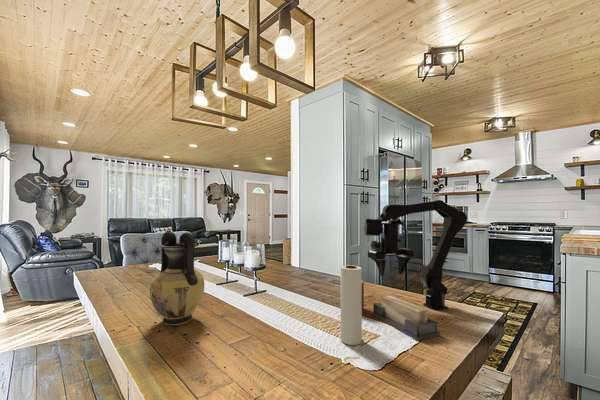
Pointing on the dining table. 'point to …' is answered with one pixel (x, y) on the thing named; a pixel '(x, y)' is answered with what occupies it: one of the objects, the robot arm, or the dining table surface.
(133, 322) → the dining table surface
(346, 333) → the paper towel roll
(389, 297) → the beige rectangular block
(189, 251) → the amphora
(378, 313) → the bracket
